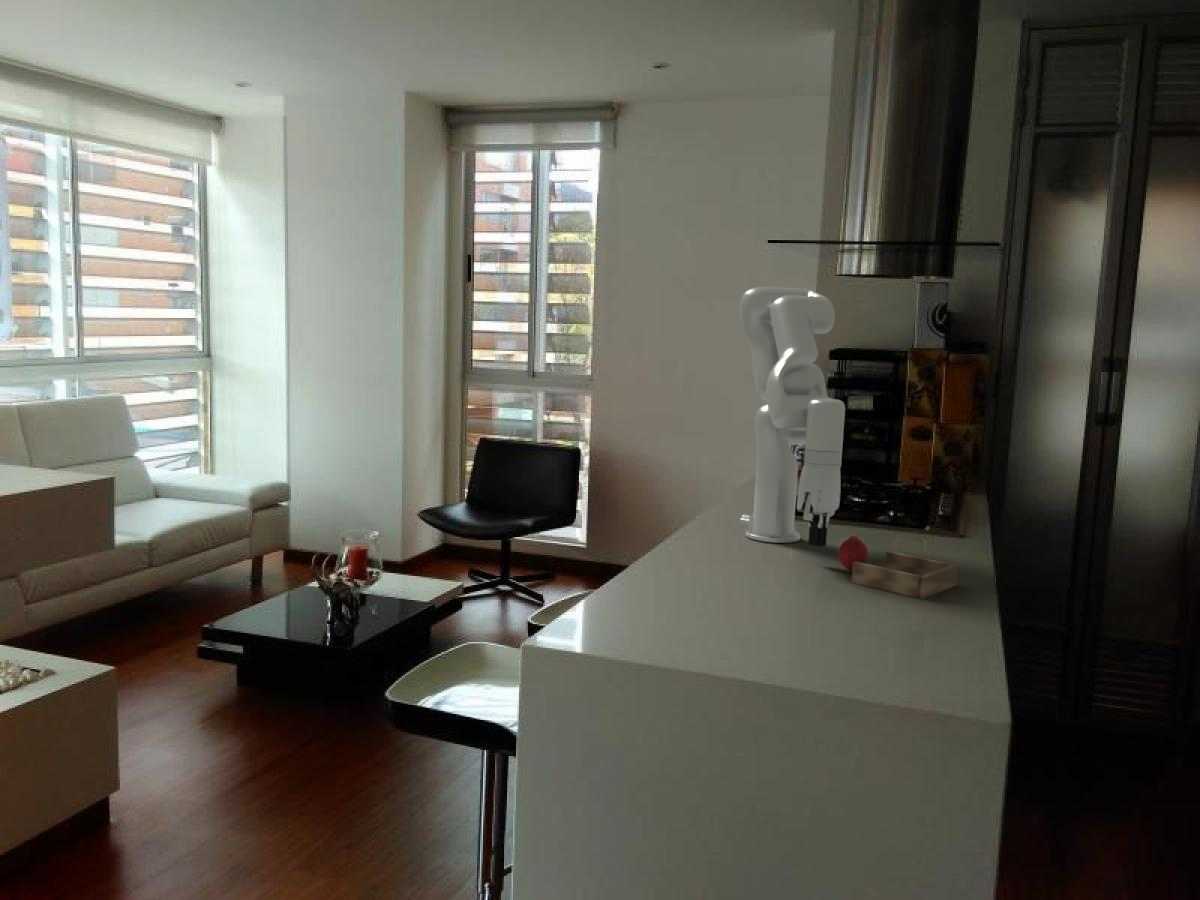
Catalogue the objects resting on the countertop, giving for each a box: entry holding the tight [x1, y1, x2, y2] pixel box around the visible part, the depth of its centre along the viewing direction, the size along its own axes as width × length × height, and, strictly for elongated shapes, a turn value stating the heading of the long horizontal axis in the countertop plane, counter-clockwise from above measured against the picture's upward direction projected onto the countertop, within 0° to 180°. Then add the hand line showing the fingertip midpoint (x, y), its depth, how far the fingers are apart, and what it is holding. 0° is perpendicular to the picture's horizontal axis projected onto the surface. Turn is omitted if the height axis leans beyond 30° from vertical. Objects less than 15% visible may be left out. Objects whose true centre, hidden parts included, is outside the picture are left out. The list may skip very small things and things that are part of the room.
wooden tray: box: [851, 550, 959, 600], centre depth 188 cm, size 15×15×4 cm
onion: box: [838, 533, 869, 573], centre depth 195 cm, size 6×6×8 cm
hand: (817, 545), depth 200 cm, fingers closed
